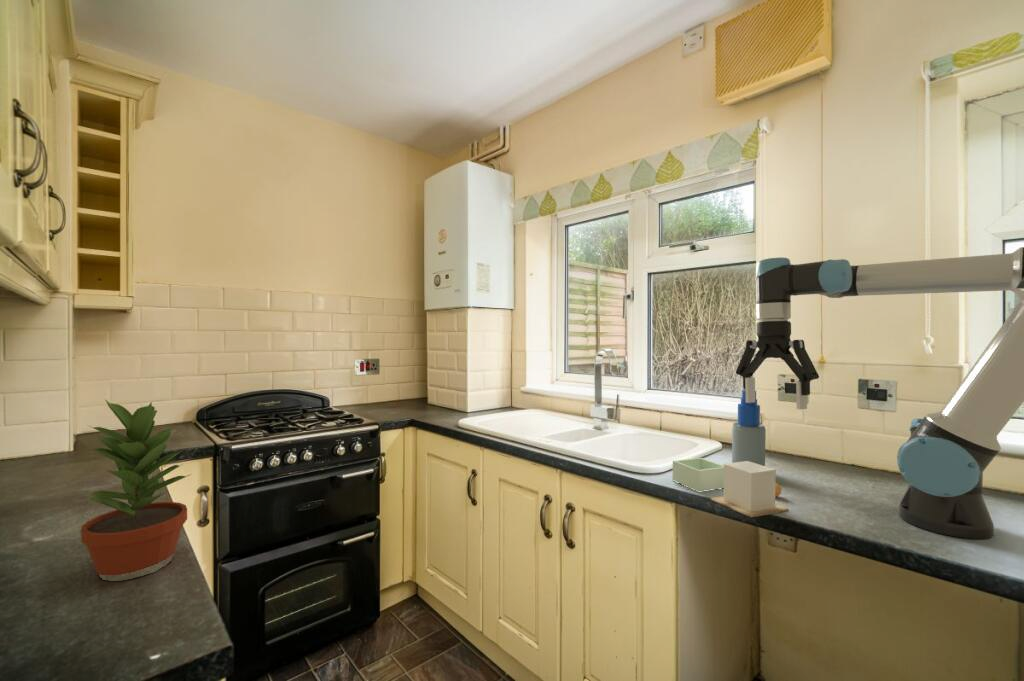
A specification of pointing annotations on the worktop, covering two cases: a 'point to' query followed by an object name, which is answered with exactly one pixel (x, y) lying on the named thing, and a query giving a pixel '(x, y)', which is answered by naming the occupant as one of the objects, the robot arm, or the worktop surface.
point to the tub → (699, 474)
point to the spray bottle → (748, 434)
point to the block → (749, 485)
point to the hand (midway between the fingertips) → (774, 405)
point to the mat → (750, 513)
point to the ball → (777, 490)
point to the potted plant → (134, 499)
